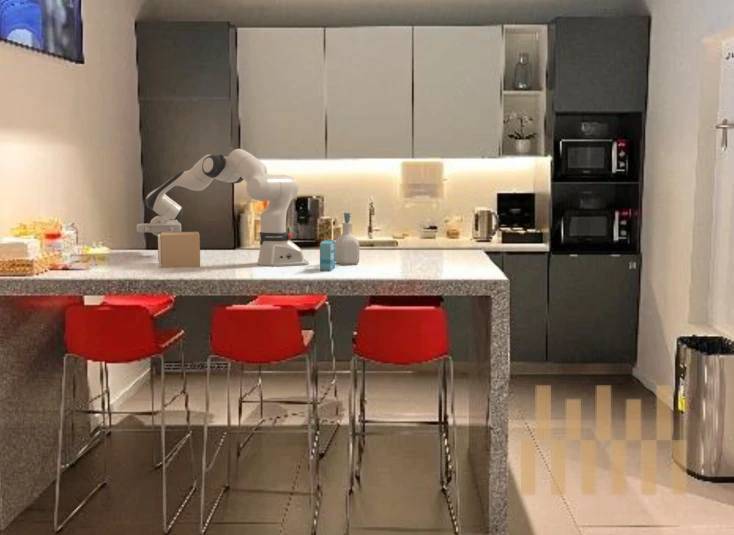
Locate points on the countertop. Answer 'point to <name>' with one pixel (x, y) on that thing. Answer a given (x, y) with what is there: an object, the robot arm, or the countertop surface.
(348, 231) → the soap bottle
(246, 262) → the countertop surface
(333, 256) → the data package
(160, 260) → the inner tray
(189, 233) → the carton
